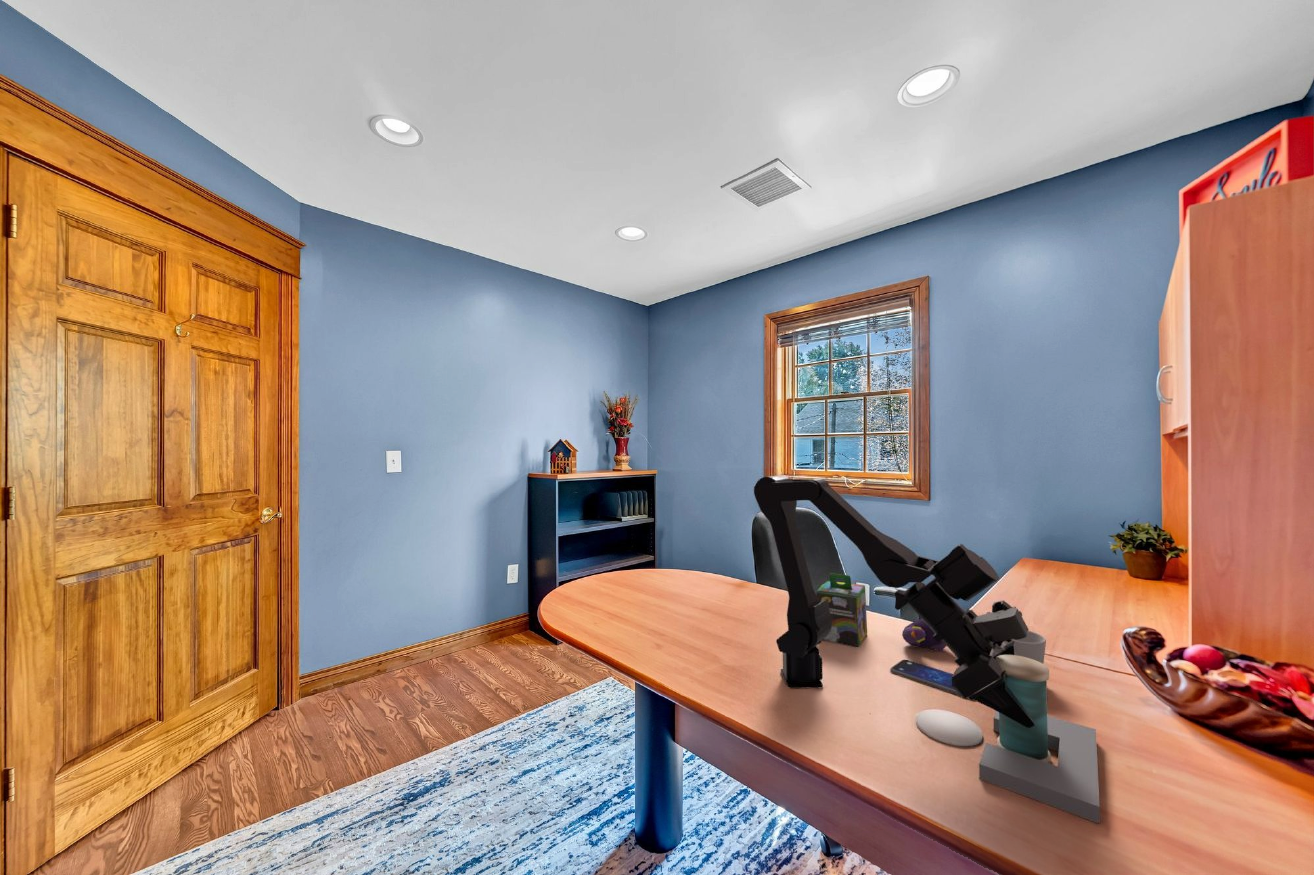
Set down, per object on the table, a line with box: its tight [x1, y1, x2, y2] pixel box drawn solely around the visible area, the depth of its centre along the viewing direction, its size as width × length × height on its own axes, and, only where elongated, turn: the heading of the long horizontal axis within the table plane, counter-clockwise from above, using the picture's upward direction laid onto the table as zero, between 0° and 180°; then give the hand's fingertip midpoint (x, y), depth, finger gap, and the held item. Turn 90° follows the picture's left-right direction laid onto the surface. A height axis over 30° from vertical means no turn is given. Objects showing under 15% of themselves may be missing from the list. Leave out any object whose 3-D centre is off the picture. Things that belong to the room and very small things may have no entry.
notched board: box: [978, 710, 1101, 824], centre depth 69 cm, size 12×20×2 cm, turn 139°
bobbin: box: [996, 655, 1052, 764], centre depth 70 cm, size 6×6×13 cm
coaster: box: [915, 708, 983, 747], centre depth 77 cm, size 9×9×1 cm
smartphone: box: [889, 659, 969, 700], centre depth 92 cm, size 7×1×15 cm
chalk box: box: [815, 572, 868, 648], centre depth 113 cm, size 9×9×15 cm
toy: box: [901, 617, 947, 652], centre depth 106 cm, size 11×12×7 cm
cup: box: [1004, 630, 1047, 665], centre depth 92 cm, size 8×10×8 cm
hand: (1034, 711), depth 70 cm, fingers open, 9 cm apart
